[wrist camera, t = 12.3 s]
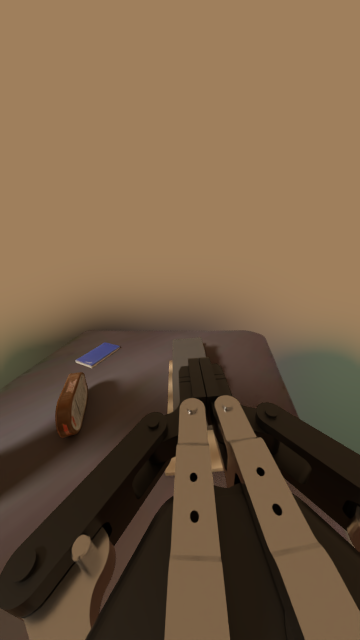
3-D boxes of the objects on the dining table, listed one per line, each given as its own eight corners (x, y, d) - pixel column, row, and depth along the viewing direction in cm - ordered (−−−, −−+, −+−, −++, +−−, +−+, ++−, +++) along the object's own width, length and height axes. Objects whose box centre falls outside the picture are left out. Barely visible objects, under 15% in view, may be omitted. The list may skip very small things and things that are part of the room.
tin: (79, 392, 49) (69, 366, 46) (92, 389, 50) (83, 363, 46) (63, 448, 36) (47, 417, 32) (81, 442, 36) (66, 412, 33)
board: (240, 469, 30) (240, 466, 29) (165, 475, 30) (165, 472, 29) (208, 359, 57) (208, 357, 57) (169, 362, 57) (169, 360, 57)
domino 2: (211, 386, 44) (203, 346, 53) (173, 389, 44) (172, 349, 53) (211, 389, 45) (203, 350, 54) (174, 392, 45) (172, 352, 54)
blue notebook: (91, 365, 58) (119, 345, 68) (74, 359, 62) (104, 342, 72) (92, 369, 59) (120, 349, 69) (76, 363, 62) (105, 345, 72)
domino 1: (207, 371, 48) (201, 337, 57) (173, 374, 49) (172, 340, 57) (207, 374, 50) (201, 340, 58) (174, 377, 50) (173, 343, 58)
